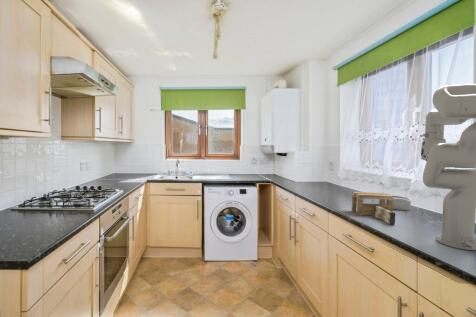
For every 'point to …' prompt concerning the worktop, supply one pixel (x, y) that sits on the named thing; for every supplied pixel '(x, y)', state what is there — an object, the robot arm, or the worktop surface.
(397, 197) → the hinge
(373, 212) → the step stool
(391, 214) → the mottled brown block
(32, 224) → the worktop surface
